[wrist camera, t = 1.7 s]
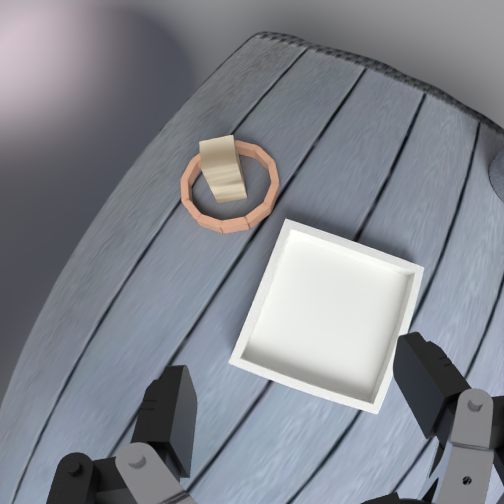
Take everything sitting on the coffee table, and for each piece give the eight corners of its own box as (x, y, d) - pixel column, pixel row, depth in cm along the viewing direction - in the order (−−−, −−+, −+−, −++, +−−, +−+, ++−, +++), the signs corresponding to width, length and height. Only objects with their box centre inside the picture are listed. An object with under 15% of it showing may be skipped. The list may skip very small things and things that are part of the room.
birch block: (215, 178, 44) (199, 141, 36) (243, 172, 44) (232, 134, 35) (218, 203, 43) (201, 169, 34) (247, 198, 43) (236, 162, 34)
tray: (285, 227, 41) (285, 218, 38) (415, 273, 37) (424, 267, 34) (232, 361, 37) (228, 363, 34) (371, 409, 33) (377, 414, 30)
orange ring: (208, 140, 46) (205, 133, 44) (291, 162, 44) (291, 154, 42) (170, 215, 43) (165, 209, 41) (257, 245, 41) (256, 240, 39)
